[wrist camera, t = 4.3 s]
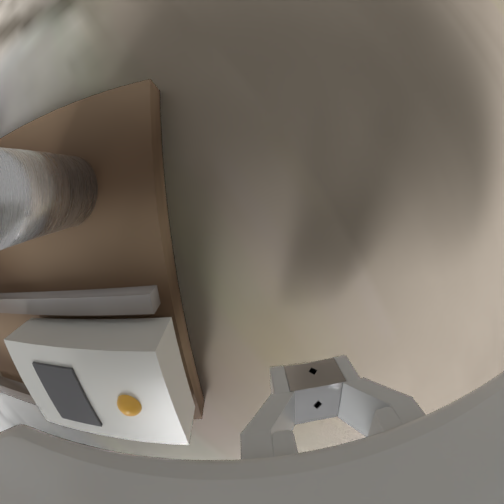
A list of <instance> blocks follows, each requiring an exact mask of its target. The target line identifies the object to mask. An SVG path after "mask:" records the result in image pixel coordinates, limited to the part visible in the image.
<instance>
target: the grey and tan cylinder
mask: <svg viewBox="0 0 504 504" xmlns="http://www.w3.org/2000/svg"><path fill="white" fill-rule="evenodd" d="M97 194H98V184H97V178H96V175H95V172H94V170H93V168H92V167H91V165H90V164H89V163H88V162H87V161H86V160H84V159H82V158H80V157H76V156H69V155H62V154H55V153H48V152H40V151H31V150H22V149H12V148H1V147H0V250H3V249H5V248H8V247H11V246H14V245H17V244H20V243H23V242H26V241H29V240H32V239H35V238H38V237H41V236H44V235H48V234H51V233H54V232H57V231H61V230H64V229H67V228H71V227H74V226H78V225H80V224H81V223H83V222H84V221H85V220H86V219H87V218H88V217H89V216H90V214H91V213H92V211H93V209H94V207H95V204H96V200H97Z"/></svg>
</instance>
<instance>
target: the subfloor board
mask: <svg viewBox="0 0 504 504" xmlns="http://www.w3.org/2000/svg"><path fill="white" fill-rule="evenodd" d="M0 147H1V148H12V149H22V150H31V151H40V152H48V153H55V154H62V155H69V156H76V157H80V158H82V159H84V160H86V161H87V162H88V163H89V164H90V165H91V167H92V168H93V170H94V172H95V175H96V178H97V184H98V194H97V200H96V204H95V207H94V209H93V211H92V213H91V214H90V216H89V217H88V218H87V219H86V220H85V221H84V222H83V223H81V224H80V225H78V226H74V227H71V228H67V229H64V230H61V231H57V232H54V233H51V234H48V235H44V236H41V237H38V238H35V239H32V240H29V241H26V242H23V243H20V244H17V245H14V246H11V247H8V248H5V249H3V250H0V392H2V393H4V394H7V395H9V396H12V397H15V398H17V399H20V400H23V401H26V402H29V403H32V404H35V405H36V403H35V401H34V400H33V398H32V396H31V395H30V393H29V391H28V389H27V387H26V386H25V384H24V382H23V380H22V378H21V376H20V374H19V372H18V370H17V368H16V366H15V364H14V362H13V360H12V358H11V356H10V354H9V351H8V349H7V347H6V344H5V342H4V339H5V338H6V337H7V336H9V335H10V334H11V333H12V332H14V331H15V330H16V329H17V328H19V327H20V326H21V325H23V324H24V323H25V322H26V321H28V320H29V319H30V318H53V319H137V318H163V317H172V322H173V326H174V331H175V335H176V339H177V343H178V347H179V351H180V355H181V359H182V363H183V367H184V370H185V374H186V377H187V381H188V385H189V388H190V391H191V395H192V398H193V401H194V405H195V411H194V417H193V419H202V415H203V407H204V398H203V394H202V390H201V386H200V382H199V379H198V375H197V371H196V367H195V362H194V358H193V354H192V350H191V345H190V341H189V336H188V331H187V327H186V322H185V317H184V312H183V307H182V301H181V296H180V291H179V285H178V279H177V273H176V267H175V261H174V254H173V247H172V240H171V233H170V225H169V217H168V209H167V199H166V190H165V179H164V167H163V154H162V138H161V116H160V90H159V89H158V88H157V87H156V85H155V84H154V83H153V82H152V80H151V79H148V80H144V81H140V82H136V83H132V84H128V85H125V86H121V87H118V88H114V89H111V90H108V91H105V92H102V93H99V94H96V95H93V96H90V97H87V98H84V99H82V100H79V101H76V102H74V103H71V104H69V105H66V106H64V107H61V108H59V109H57V110H54V111H52V112H50V113H48V114H46V115H44V116H41V117H39V118H37V119H35V120H33V121H31V122H29V123H27V124H25V125H23V126H22V127H20V128H18V129H16V130H14V131H12V132H11V133H9V134H7V135H6V136H4V137H2V138H0Z"/></svg>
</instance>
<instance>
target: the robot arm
mask: <svg viewBox="0 0 504 504" xmlns="http://www.w3.org/2000/svg"><path fill="white" fill-rule="evenodd" d="M269 370H270V385H271V395H270V396H269V397H268V399H267V400H266V402H265V403H264V404H263V406H262V407H261V408H260V409H259V411H258V412H257V413H256V415H255V416H254V417H253V419H252V420H251V421H250V422H249V424H248V425H247V426H246V427H245V429H244V430H243V431H242V432H241V434H240V437H241V460H181V459H167V458H156V457H147V456H140V455H133V454H127V453H121V452H115V451H110V450H105V449H101V448H96V447H92V446H88V445H84V444H80V443H77V442H73V441H70V440H66V439H63V438H60V437H57V436H54V435H51V434H48V433H45V432H42V431H40V430H37V429H35V428H32V427H30V426H27V425H22V424H19V425H16V426H13V427H11V428H9V429H7V430H4V431H2V432H0V504H504V371H503V372H502V373H500V374H499V375H497V376H496V377H494V378H493V379H491V380H490V381H488V382H487V383H485V384H483V385H482V386H480V387H478V388H477V389H475V390H473V391H472V392H470V393H468V394H467V395H465V396H463V397H461V398H459V399H457V400H456V401H454V402H452V403H450V404H448V405H446V406H444V407H442V408H440V409H438V410H436V411H434V412H431V413H429V414H427V415H425V413H424V412H423V411H422V409H421V408H420V407H419V405H418V404H417V403H416V401H415V400H414V399H413V397H411V396H409V395H406V394H403V393H401V392H398V391H396V390H393V389H391V388H388V387H386V386H383V385H381V384H378V383H376V382H374V381H371V380H369V379H366V378H364V377H363V378H360V377H359V375H358V373H357V372H356V370H355V369H354V367H353V366H352V364H351V362H350V361H349V359H348V358H347V356H346V355H341V356H337V357H333V358H329V359H324V360H319V361H313V362H305V363H298V364H289V365H281V366H273V367H270V369H269ZM336 416H338V418H340V419H341V420H343V421H344V422H345V423H347V424H348V425H350V426H351V427H353V428H354V429H355V430H357V431H358V432H360V433H361V434H363V435H364V436H366V437H365V438H362V439H359V440H355V441H352V442H348V443H344V444H340V445H336V446H332V447H327V448H323V449H318V450H313V451H308V452H302V453H298V450H297V446H296V442H295V438H294V434H293V432H292V430H293V428H294V426H295V424H300V423H305V422H310V421H315V420H321V419H326V418H331V417H336Z"/></svg>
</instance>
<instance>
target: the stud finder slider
mask: <svg viewBox="0 0 504 504" xmlns="http://www.w3.org/2000/svg"><path fill="white" fill-rule="evenodd" d="M4 342H5V344H6V347H7V349H8V351H9V354H10V356H11V358H12V360H13V362H14V364H15V366H16V368H17V370H18V372H19V374H20V376H21V378H22V380H23V382H24V384H25V386H26V387H27V389H28V391H29V393H30V395H31V396H32V398H33V400H34V401H35V403H36V405H37V406H38V408H39V409H40V411H41V413H42V414H43V416H44V417H45V419H46V420H47V421H48V422H51V423H54V424H58V425H61V426H65V427H68V428H72V429H76V430H80V431H84V432H88V433H93V434H98V435H103V436H108V437H114V438H120V439H126V440H133V441H141V442H150V443H161V444H177V445H189V443H190V437H191V430H192V424H193V417H194V411H195V405H194V401H193V398H192V395H191V391H190V388H189V385H188V381H187V377H186V374H185V370H184V367H183V363H182V359H181V355H180V351H179V347H178V343H177V339H176V335H175V331H174V326H173V322H172V317H163V318H137V319H53V318H30V319H29V320H28V321H26V322H25V323H24V324H23V325H21V326H20V327H19V328H17V329H16V330H15V331H14V332H12V333H11V334H10V335H9V336H7V337H6V338H5V339H4Z"/></svg>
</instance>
